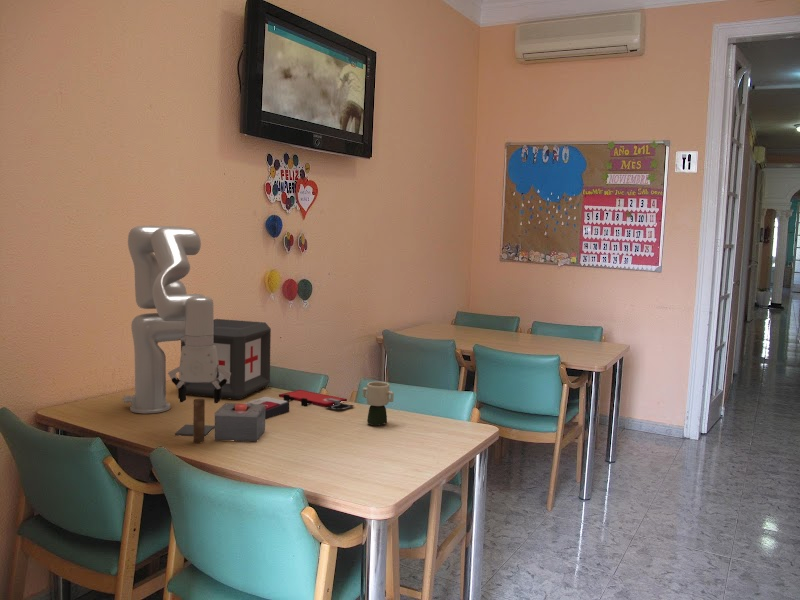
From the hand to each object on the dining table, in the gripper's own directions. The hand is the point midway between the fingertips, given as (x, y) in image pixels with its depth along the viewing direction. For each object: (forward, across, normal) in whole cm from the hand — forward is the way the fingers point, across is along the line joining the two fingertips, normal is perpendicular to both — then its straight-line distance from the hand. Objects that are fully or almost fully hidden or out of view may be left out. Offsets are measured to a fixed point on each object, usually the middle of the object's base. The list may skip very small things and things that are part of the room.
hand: (199, 401), depth 190 cm
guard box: (+12, +9, +8) cm, 17 cm away
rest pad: (+11, -5, +10) cm, 16 cm away
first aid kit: (+10, -10, +61) cm, 62 cm away
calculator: (+12, +10, +32) cm, 35 cm away
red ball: (+5, +10, +8) cm, 13 cm away
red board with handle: (+12, +26, +50) cm, 57 cm away
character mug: (+12, +48, +25) cm, 56 cm away
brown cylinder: (+12, -1, +1) cm, 12 cm away
